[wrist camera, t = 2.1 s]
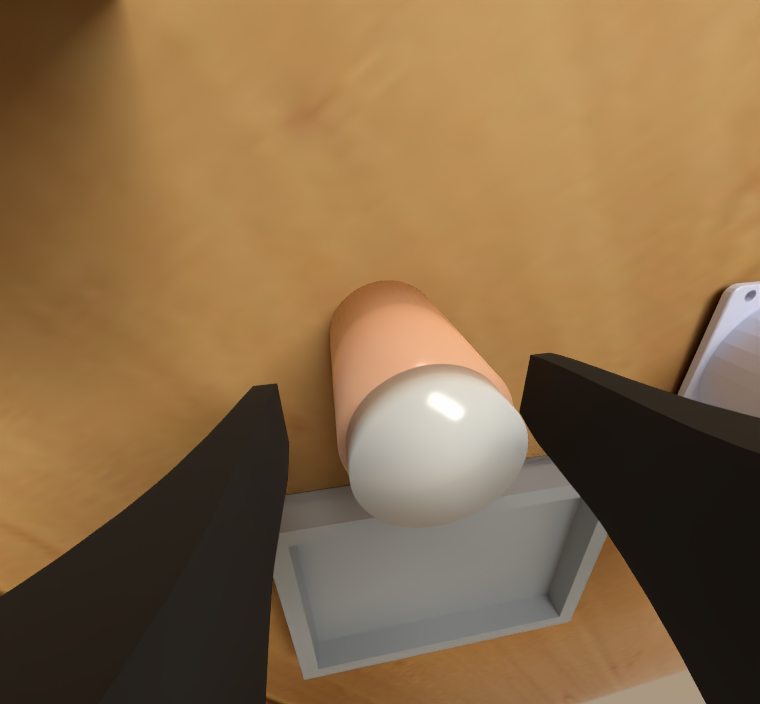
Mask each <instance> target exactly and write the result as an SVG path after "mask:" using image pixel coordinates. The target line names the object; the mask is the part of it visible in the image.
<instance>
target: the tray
mask: <svg viewBox="0 0 760 704" xmlns="http://www.w3.org/2000/svg"><path fill="white" fill-rule="evenodd" d="M607 535H608V534H607V532H606V531H605V529H604V527H603V526H602V524H601V523H600V522H599V520H598V519H597V518H596V516H595V515H594V513H593V512H592V511H591V509H590V508H589V507H588V505H587V504H586V503H585V502H584V500H583V499H582V498H581V497H580V495H579V494H578V493H577V492H576V490H575V489H574V488H573V487H572V485H571V484H570V483H569V482H568V480H567V479H566V478H565V477H564V475H563V474H562V473H561V472H560V470H559V469H558V468H557V467H556V465H555V464H554V463H553V462H552V460H551V459H550V458H549V457H548V456H542V457H535V458H529V459H525V461H524V464H523V466H522V468H521V470H520V472H519V474H518V475H517V477H516V479H515V480H514V481H513V483H512V484H511V485H510V486H509V487H508V489H507V490H506V491H505V492H504V493H503V494H502V495H501V496H499V497H498V498H497V499H496V500H495V501H493V502H492V503H491V504H489V505H488V506H486V507H485V508H483V509H482V510H480V511H478V512H476V513H474V514H472V515H470V516H468V517H466V518H463V519H461V520H458V521H455V522H452V523H449V524H445V525H440V526H434V527H426V528H410V527H401V526H396V525H392V524H388V523H386V522H383V521H381V520H379V519H377V518H375V517H373V516H372V515H370V514H369V513H368V512H367V511H365V510H364V509H363V508H362V507H361V505H360V504H359V503H358V501H357V500H356V498H355V497H354V494H353V492H352V489H351V485H349V486H343V487H336V488H330V489H323V490H316V491H310V492H303V493H296V494H290V495H285V501H284V507H283V513H282V520H281V526H280V532H279V539H278V545H277V552H276V558H275V565H274V573H273V578H274V581H275V584H276V588H277V591H278V594H279V598H280V601H281V604H282V608H283V611H284V614H285V618H286V621H287V624H288V628H289V631H290V634H291V638H292V641H293V644H294V648H295V651H296V654H297V657H298V661H299V664H300V667H301V671H302V674H303V677H304V680H307V679H311V678H316V677H320V676H325V675H330V674H334V673H339V672H343V671H348V670H352V669H357V668H361V667H366V666H371V665H375V664H380V663H384V662H389V661H393V660H398V659H402V658H407V657H412V656H416V655H421V654H425V653H430V652H434V651H439V650H443V649H448V648H452V647H457V646H462V645H466V644H471V643H475V642H480V641H484V640H489V639H493V638H498V637H503V636H507V635H512V634H516V633H521V632H525V631H530V630H534V629H539V628H543V627H548V626H553V625H557V624H562V623H566V622H570V620H571V618H572V616H573V613H574V611H575V609H576V606H577V604H578V602H579V600H580V597H581V595H582V593H583V590H584V588H585V586H586V583H587V581H588V579H589V576H590V574H591V572H592V570H593V567H594V565H595V563H596V560H597V558H598V556H599V553H600V551H601V549H602V546H603V544H604V542H605V539H606V537H607Z"/></svg>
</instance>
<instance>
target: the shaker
mask: <svg viewBox="0 0 760 704" xmlns="http://www.w3.org/2000/svg"><path fill="white" fill-rule="evenodd" d="M330 349H331V363H332V377H333V391H334V405H335V419H336V432H337V446H338V452H339V457H340V460H341V462H342V465H343V467H344V468H345V470H346V471H347V473H348V474H349V479H350V485H351V489H352V492H353V494H354V497H355V498H356V500H357V501H358V503H359V504H360V505H361V507H362V508H363V509H364V510H365V511H367V512H368V513H369V514H370V515H372V516H373V517H375V518H377V519H379V520H381V521H383V522H386V523H388V524H392V525H396V526H401V527H410V528H426V527H434V526H440V525H445V524H449V523H452V522H455V521H458V520H461V519H463V518H466V517H468V516H470V515H472V514H474V513H476V512H478V511H480V510H482V509H483V508H485V507H486V506H488V505H489V504H491V503H492V502H493V501H495V500H496V499H497V498H498V497H499V496H501V495H502V494H503V493H504V492H505V491H506V490H507V489H508V487H509V486H510V485H511V484H512V483H513V481H514V480H515V479H516V477H517V475H518V474H519V472H520V470H521V468H522V466H523V464H524V461H525V458H526V455H527V449H528V435H527V430H526V426H525V424H524V421H523V419H522V418H521V416H520V415H519V413H518V412H517V411H516V409H515V408H514V407H513V402H512V397H511V395H510V393H509V390H508V388H507V387H506V385H505V383H504V382H503V381H502V380H501V378H500V377H499V376H498V375H497V374H496V373H495V372H494V371H493V370H492V368H491V367H490V366H489V365H488V364H487V363H486V362H485V361H484V360H483V358H482V357H481V356H480V355H479V354H478V353H477V352H476V351H475V350H474V349H473V347H472V346H471V345H470V344H469V343H468V342H467V341H466V340H465V339H464V337H463V336H462V335H461V334H460V333H459V332H458V331H457V330H456V329H455V327H454V326H453V325H452V324H451V323H450V322H449V321H448V320H447V319H446V318H445V316H444V315H443V314H442V313H441V312H440V311H439V310H438V309H437V308H436V306H435V305H434V304H433V303H432V302H431V301H430V300H429V299H428V298H427V297H426V295H425V294H423V293H422V292H421V291H420V290H418V289H417V288H415V287H413V286H411V285H409V284H406V283H402V282H398V281H379V282H374V283H371V284H368V285H365V286H363V287H361V288H359V289H357V290H356V291H354V292H353V293H351V294H350V295H349V296H348V297H347V298H346V299H345V300H344V301H343V302H342V303H341V304H340V306H339V307H338V309H337V311H336V312H335V314H334V317H333V319H332V322H331V326H330Z"/></svg>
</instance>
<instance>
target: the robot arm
mask: <svg viewBox="0 0 760 704" xmlns="http://www.w3.org/2000/svg"><path fill="white" fill-rule="evenodd" d="M519 412H520V414H521V416H522V417H523V419H524V421H525V423H526V425H527V426H528V428H529V430H530V431H531V433H532V435H533V436H534V438H535V440H536V441H537V442H538V444H539V445H540V446H541V448H542V449H543V450H544V451H545V453H546V454H547V455H548V457H549V458H550V459H551V460H552V462H553V463H554V464H555V465H556V467H557V468H558V469H559V470H560V472H561V473H562V474H563V475H564V477H565V478H566V479H567V480H568V482H569V483H570V484H571V485H572V487H573V488H574V489H575V490H576V492H577V493H578V494H579V495H580V497H581V498H582V499H583V500H584V502H585V503H586V504H587V505H588V507H589V508H590V509H591V511H592V512H593V513H594V515H595V516H596V518H597V519H598V520H599V522H600V523H601V524H602V526H603V527H604V529H605V531H606V532H607V534H608V535H609V537H610V538H611V540H612V541H613V543H614V544H615V546H616V547H617V549H618V550H619V552H620V553H621V555H622V556H623V558H624V560H625V561H626V563H627V564H628V566H629V568H630V569H631V571H632V573H633V574H634V576H635V577H636V579H637V581H638V582H639V584H640V586H641V587H642V589H643V591H644V592H645V594H646V595H647V597H648V599H649V600H650V602H651V604H652V605H653V607H654V609H655V611H656V613H657V614H658V616H659V618H660V620H661V621H662V623H663V625H664V627H665V628H666V630H667V632H668V634H669V635H670V637H671V639H672V641H673V642H674V644H675V646H676V648H677V649H678V651H679V653H680V655H681V657H682V659H683V660H684V662H685V664H686V666H687V668H688V670H689V672H690V674H691V676H692V677H693V680H694V681H695V683H696V685H697V687H698V689H699V691H700V693H701V695H702V697H703V699H704V701H705V702H706V704H760V281H758V282H746V283H736V284H733V285H731V286H730V287H728V288H727V289H726V290H725V291H724V292H723V294H722V296H721V298H720V300H719V303H718V305H717V307H716V309H715V312H714V314H713V316H712V318H711V321H710V323H709V325H708V327H707V330H706V332H705V334H704V336H703V338H702V341H701V343H700V345H699V347H698V350H697V352H696V354H695V356H694V359H693V361H692V363H691V365H690V367H689V370H688V372H687V374H686V376H685V379H684V381H683V383H682V385H681V388H680V390H679V392H678V394H677V395H676V394H673V393H670V392H666V391H663V390H660V389H657V388H654V387H651V386H648V385H645V384H642V383H639V382H637V381H634V380H631V379H628V378H625V377H622V376H620V375H617V374H614V373H611V372H608V371H606V370H603V369H600V368H597V367H594V366H592V365H589V364H586V363H583V362H580V361H577V360H574V359H571V358H568V357H564V356H561V355H557V354H553V353H544V354H535V355H530V361H529V366H528V371H527V376H526V381H525V386H524V391H523V396H522V401H521V406H520V411H519ZM288 464H289V441H288V436H287V431H286V426H285V421H284V416H283V411H282V406H281V401H280V396H279V391H278V386H277V384H268V385H259V386H253V387H252V388H251V389H250V390H249V391H248V392H247V393H246V394H245V396H244V397H243V398H242V399H241V400H240V401H239V402H238V403H237V404H236V405H235V407H234V408H233V409H232V410H231V411H230V412H229V413H228V414H227V415H226V417H225V418H224V419H223V420H222V421H221V422H220V423H219V424H218V425H217V426H216V427H215V428H214V429H213V430H212V432H211V433H210V434H209V435H208V436H207V437H206V438H205V439H204V440H203V441H202V442H201V443H199V444H198V445H197V446H196V447H195V448H194V449H193V450H192V451H191V452H190V453H189V454H188V455H187V456H186V457H185V458H184V459H183V460H182V461H181V462H180V463H179V464H178V465H177V466H176V467H175V468H173V469H172V470H171V471H170V472H169V473H168V474H167V475H166V476H164V477H163V478H162V479H161V480H160V481H159V482H158V483H156V484H155V485H154V486H153V487H152V488H150V489H149V490H148V491H147V492H146V493H144V494H143V495H142V496H141V497H139V498H138V499H137V500H136V501H135V502H133V503H132V504H131V505H130V506H128V507H127V508H126V509H125V510H123V511H122V512H121V513H119V514H118V515H117V516H115V517H114V518H113V519H111V520H110V521H109V522H107V523H106V524H104V525H103V526H102V527H100V528H99V529H98V530H96V531H95V532H94V533H92V534H91V535H89V536H88V537H87V538H85V539H84V540H83V541H81V542H80V543H79V544H77V545H76V546H74V547H73V548H72V549H70V550H69V551H68V552H66V553H65V554H63V555H62V556H61V557H59V558H58V559H56V560H55V561H53V562H52V563H50V564H49V565H47V566H46V567H45V568H43V569H42V570H40V571H39V572H37V573H36V574H34V575H33V576H31V577H30V578H28V579H27V580H25V581H24V582H22V583H21V584H19V585H18V586H16V587H15V588H13V589H12V590H10V591H8V592H7V593H5V594H4V595H2V596H1V597H0V704H266V682H267V663H268V644H269V626H270V611H271V595H272V582H273V573H274V565H275V558H276V552H277V545H278V539H279V532H280V526H281V520H282V513H283V507H284V501H285V494H286V487H287V481H288Z"/></svg>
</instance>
